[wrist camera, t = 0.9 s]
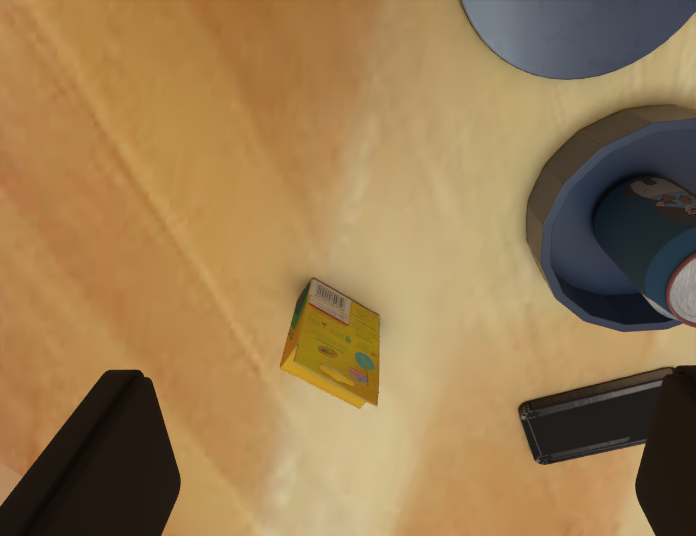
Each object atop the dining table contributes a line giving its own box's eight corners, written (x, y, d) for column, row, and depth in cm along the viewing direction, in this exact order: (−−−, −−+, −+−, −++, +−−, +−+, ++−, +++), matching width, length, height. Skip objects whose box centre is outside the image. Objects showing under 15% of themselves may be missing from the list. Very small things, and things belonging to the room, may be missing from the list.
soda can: (616, 267, 43) (691, 356, 32) (570, 209, 41) (635, 283, 30) (697, 216, 40) (807, 294, 30) (652, 151, 38) (754, 210, 28)
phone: (518, 412, 50) (684, 373, 46) (515, 404, 51) (678, 365, 47) (536, 467, 53) (693, 434, 49) (534, 458, 54) (687, 425, 50)
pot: (585, 77, 37) (611, 87, 32) (792, 141, 38) (845, 159, 33) (493, 270, 44) (505, 299, 40) (668, 319, 45) (698, 353, 41)
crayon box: (296, 299, 47) (271, 384, 37) (312, 276, 46) (291, 357, 35) (364, 338, 48) (358, 429, 38) (381, 316, 47) (380, 404, 37)
